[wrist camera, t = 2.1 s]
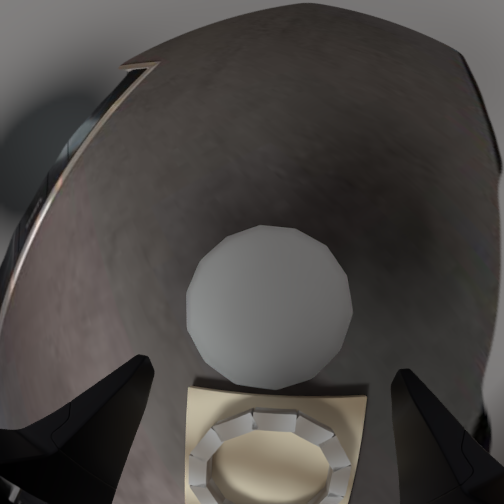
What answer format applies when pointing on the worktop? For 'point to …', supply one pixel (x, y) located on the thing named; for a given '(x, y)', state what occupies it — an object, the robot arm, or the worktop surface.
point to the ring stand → (271, 447)
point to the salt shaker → (268, 307)
